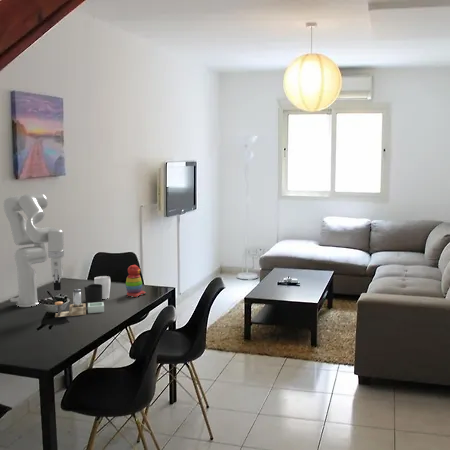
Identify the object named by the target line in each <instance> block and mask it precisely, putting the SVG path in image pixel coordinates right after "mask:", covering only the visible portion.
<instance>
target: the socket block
mask: <svg viewBox="0 0 450 450" xmlns="http://www.w3.org/2000/svg"><path fill="white" fill-rule="evenodd" d="M85 315H87V304H86V302H85V303H82V307H74V305H73V303H72V304H69V308H68V311H60V305H58V313H56V312H55V315H54V317H55V318H62V317H73V316H85Z"/></svg>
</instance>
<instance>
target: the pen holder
mask: <svg viewBox="0 0 450 450" xmlns="http://www.w3.org/2000/svg"><path fill="white" fill-rule="evenodd" d="M83 289H84V299H85V303H86V305H88V303H97V302H103V300H102V285H101V284H94V283H93V284H89V285H87V286H84V288H83Z"/></svg>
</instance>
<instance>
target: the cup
mask: <svg viewBox="0 0 450 450" xmlns="http://www.w3.org/2000/svg"><path fill="white" fill-rule="evenodd" d="M93 282H94V283H93V284H101V285H102V299H105V300H108V299H109V298H110V291H111V284H112V283H111V276H109V275H108V276H107V275H100V276H96V277H94V281H93ZM107 298H108V299H107Z"/></svg>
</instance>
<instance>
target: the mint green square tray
mask: <svg viewBox="0 0 450 450" xmlns="http://www.w3.org/2000/svg"><path fill="white" fill-rule="evenodd" d="M104 303H105V302H104V301H102V302H97V303H88V304H87V313H88V314H94V313H95V314H97V313H104V312H105V304H104Z"/></svg>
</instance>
